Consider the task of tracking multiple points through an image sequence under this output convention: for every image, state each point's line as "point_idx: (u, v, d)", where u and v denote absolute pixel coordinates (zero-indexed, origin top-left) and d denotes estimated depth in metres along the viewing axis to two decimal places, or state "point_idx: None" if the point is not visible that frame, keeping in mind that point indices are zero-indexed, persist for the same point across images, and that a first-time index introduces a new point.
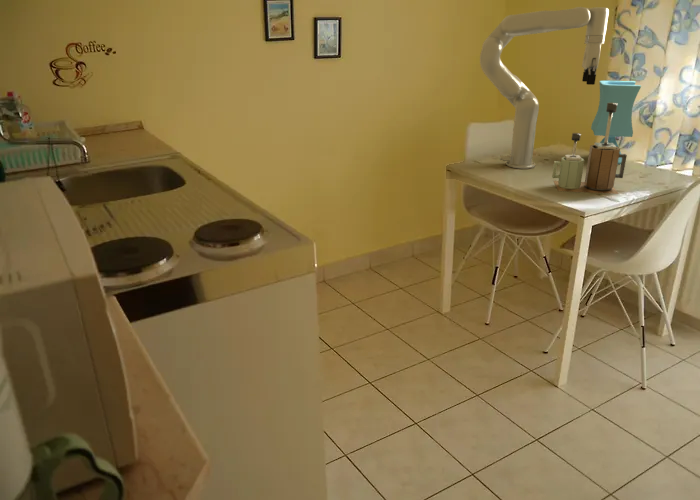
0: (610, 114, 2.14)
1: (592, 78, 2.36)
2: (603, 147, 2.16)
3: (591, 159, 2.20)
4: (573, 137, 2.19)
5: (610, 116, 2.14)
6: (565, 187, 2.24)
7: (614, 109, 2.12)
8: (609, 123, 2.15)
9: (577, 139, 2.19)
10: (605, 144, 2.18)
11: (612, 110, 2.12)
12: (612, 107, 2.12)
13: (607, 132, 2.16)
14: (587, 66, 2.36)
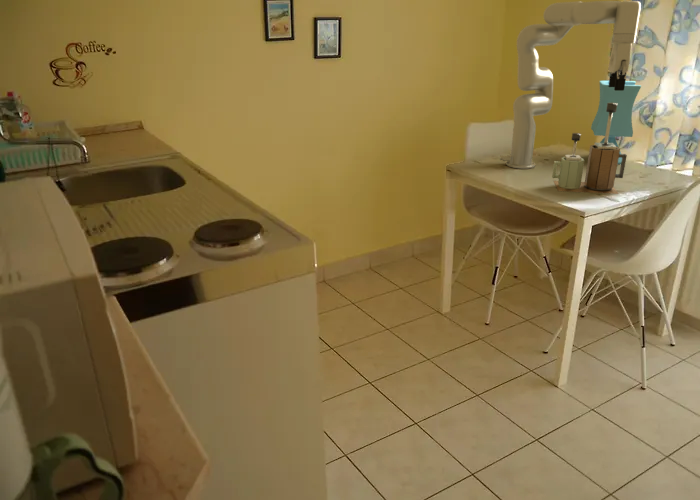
0: (610, 114, 2.14)
1: (621, 83, 2.04)
2: (603, 147, 2.16)
3: (591, 159, 2.20)
4: (573, 137, 2.19)
5: (610, 116, 2.14)
6: (565, 187, 2.24)
7: (614, 109, 2.12)
8: (609, 123, 2.15)
9: (577, 139, 2.19)
10: (605, 144, 2.18)
11: (612, 110, 2.12)
12: (612, 107, 2.12)
13: (607, 132, 2.16)
14: (615, 69, 2.03)
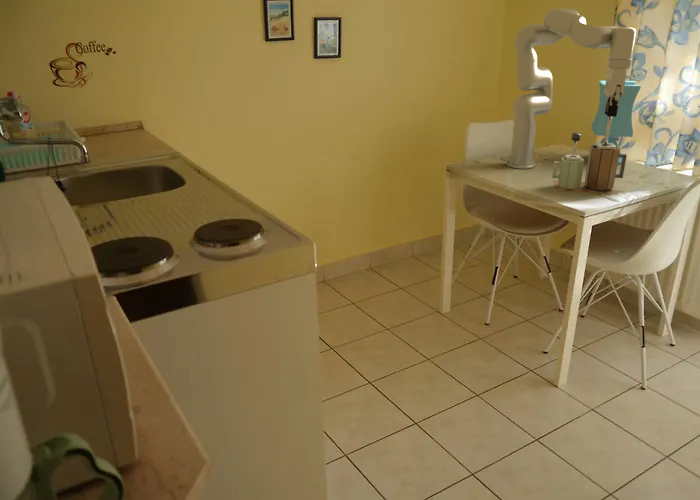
0: None
1: (614, 110, 2.11)
2: (603, 147, 2.16)
3: (591, 159, 2.20)
4: (573, 137, 2.19)
5: None
6: (565, 187, 2.24)
7: None
8: (609, 123, 2.15)
9: (577, 139, 2.19)
10: (605, 144, 2.18)
11: None
12: None
13: (607, 132, 2.16)
14: (610, 94, 2.07)
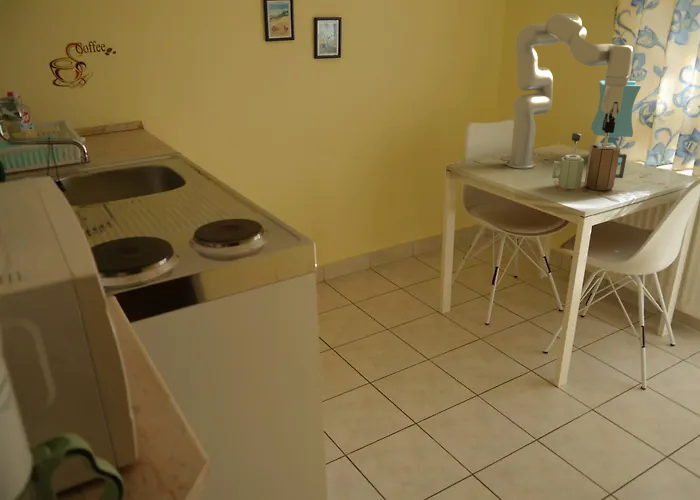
0: None
1: (611, 126, 2.13)
2: (603, 147, 2.16)
3: (591, 159, 2.20)
4: (573, 137, 2.19)
5: None
6: (565, 187, 2.24)
7: None
8: (606, 139, 2.17)
9: (577, 139, 2.19)
10: None
11: None
12: None
13: None
14: (608, 111, 2.09)
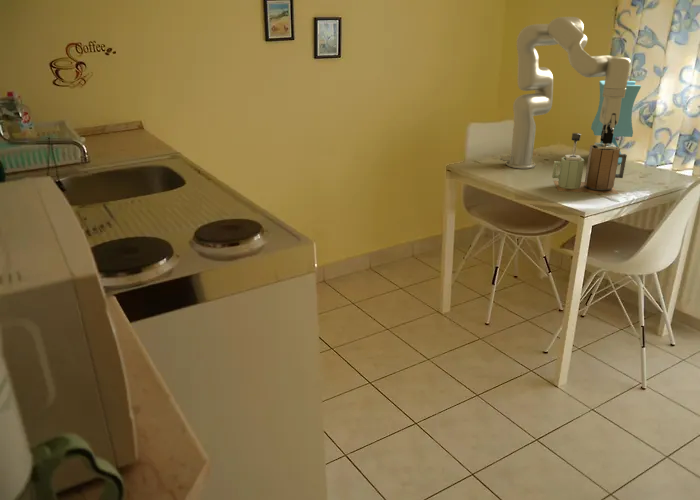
0: None
1: (609, 137, 2.15)
2: (603, 147, 2.16)
3: (591, 159, 2.20)
4: (573, 137, 2.19)
5: None
6: (565, 187, 2.24)
7: None
8: None
9: (577, 139, 2.19)
10: None
11: None
12: None
13: None
14: (606, 122, 2.11)
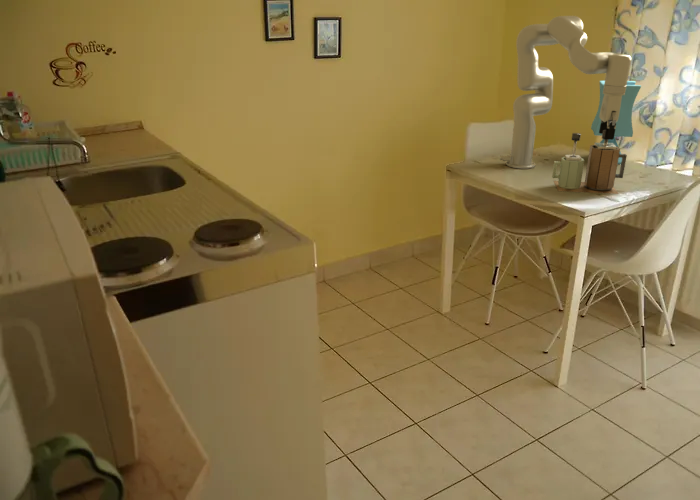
0: (605, 141, 2.18)
1: (611, 133, 2.12)
2: (603, 147, 2.16)
3: (591, 159, 2.20)
4: (573, 137, 2.19)
5: (605, 143, 2.18)
6: (565, 187, 2.24)
7: None
8: None
9: (577, 139, 2.19)
10: None
11: None
12: None
13: None
14: (606, 119, 2.11)
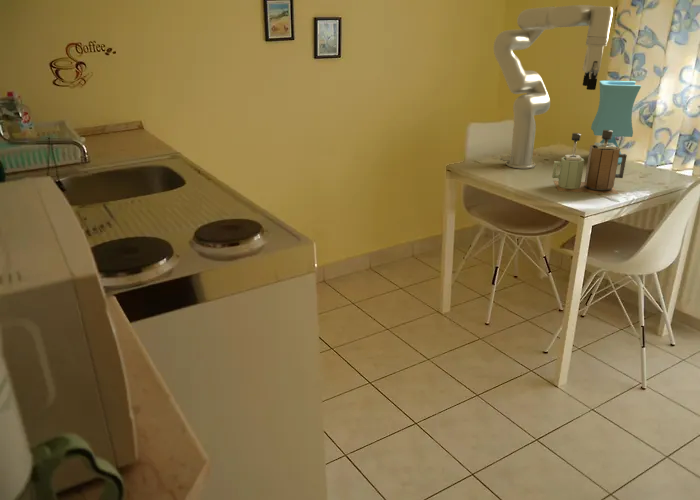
0: (605, 141, 2.18)
1: (593, 83, 2.19)
2: (603, 147, 2.16)
3: (591, 159, 2.20)
4: (573, 137, 2.19)
5: (605, 143, 2.18)
6: (565, 187, 2.24)
7: (609, 136, 2.16)
8: None
9: (577, 139, 2.19)
10: None
11: (607, 137, 2.16)
12: (607, 135, 2.16)
13: None
14: (588, 70, 2.18)
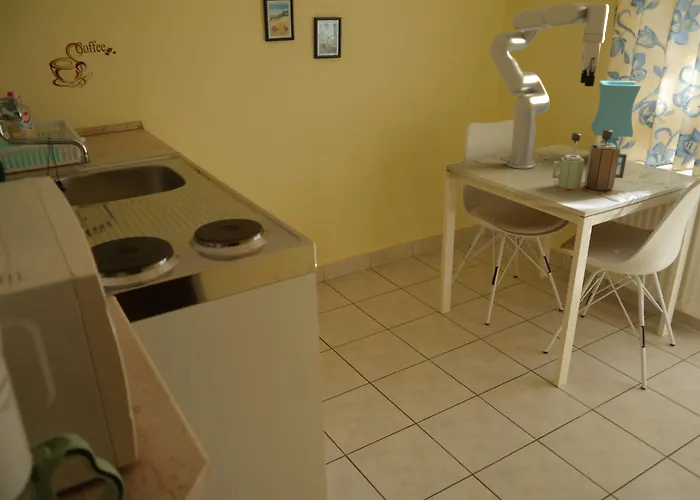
0: (605, 141, 2.18)
1: (591, 79, 2.20)
2: (603, 147, 2.16)
3: (591, 159, 2.20)
4: (573, 137, 2.19)
5: (605, 143, 2.18)
6: (565, 187, 2.24)
7: (609, 136, 2.16)
8: None
9: (577, 139, 2.19)
10: None
11: (607, 137, 2.16)
12: (607, 135, 2.16)
13: None
14: (585, 67, 2.20)
